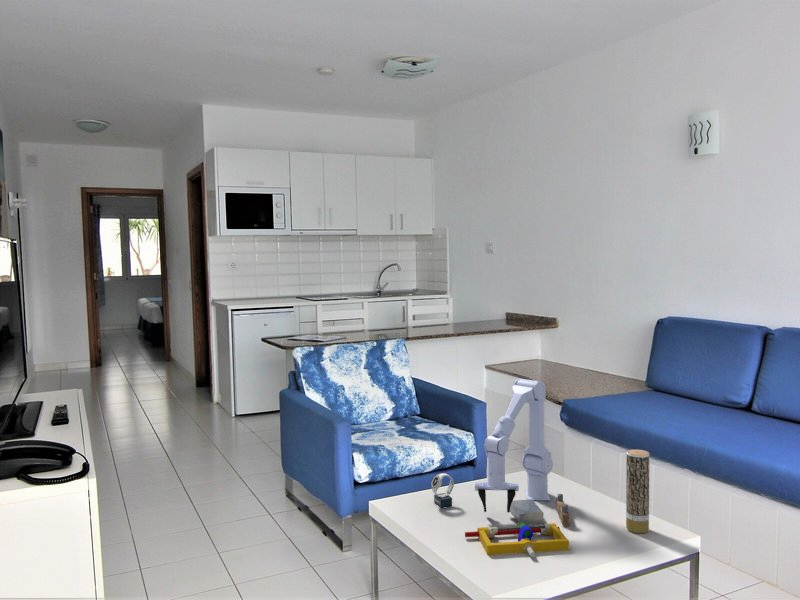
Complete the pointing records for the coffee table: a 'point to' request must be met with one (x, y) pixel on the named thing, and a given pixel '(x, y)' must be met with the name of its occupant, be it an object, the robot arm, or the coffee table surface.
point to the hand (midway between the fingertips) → (496, 511)
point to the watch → (442, 498)
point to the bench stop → (562, 510)
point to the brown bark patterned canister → (637, 491)
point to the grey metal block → (526, 512)
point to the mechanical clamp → (521, 539)
